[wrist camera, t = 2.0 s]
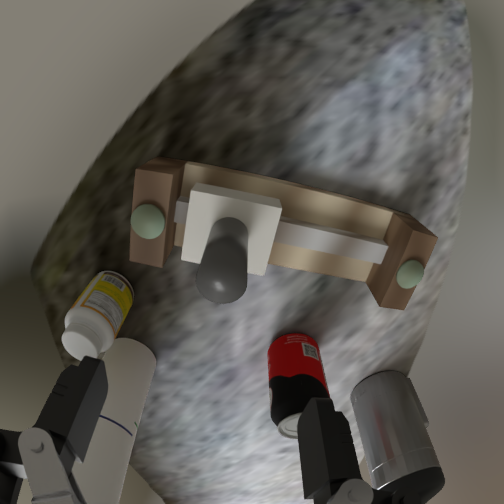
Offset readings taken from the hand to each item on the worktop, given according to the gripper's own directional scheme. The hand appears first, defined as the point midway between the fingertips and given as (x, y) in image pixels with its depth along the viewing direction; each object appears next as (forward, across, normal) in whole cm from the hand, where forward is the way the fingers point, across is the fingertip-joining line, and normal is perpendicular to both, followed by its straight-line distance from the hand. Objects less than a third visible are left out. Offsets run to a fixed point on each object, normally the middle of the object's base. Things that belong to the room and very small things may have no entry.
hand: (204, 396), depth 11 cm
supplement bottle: (+21, +12, +12) cm, 27 cm away
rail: (+21, -5, 0) cm, 22 cm away
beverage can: (+21, -10, +16) cm, 28 cm away
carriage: (+18, 0, 0) cm, 18 cm away
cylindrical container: (+21, +10, +23) cm, 33 cm away
